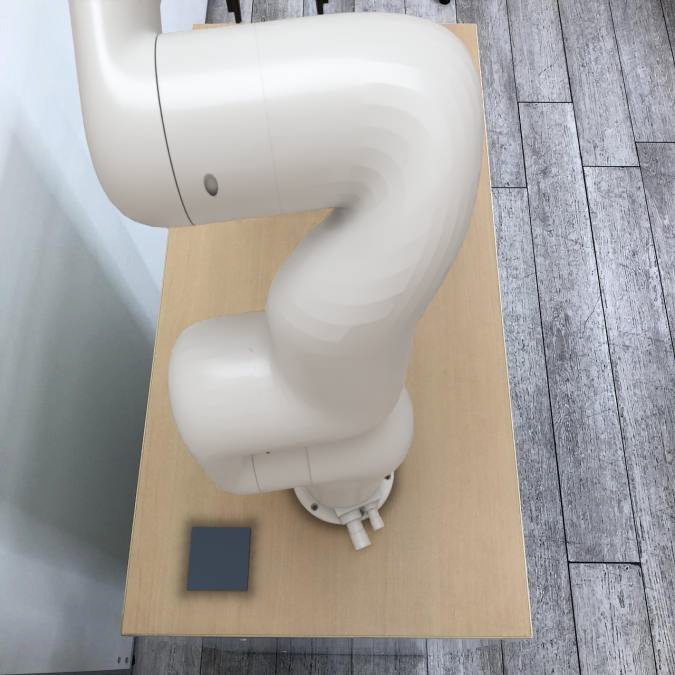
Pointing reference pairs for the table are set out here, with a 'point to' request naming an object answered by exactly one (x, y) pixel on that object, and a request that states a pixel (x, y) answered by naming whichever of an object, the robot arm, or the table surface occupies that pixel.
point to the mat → (219, 558)
